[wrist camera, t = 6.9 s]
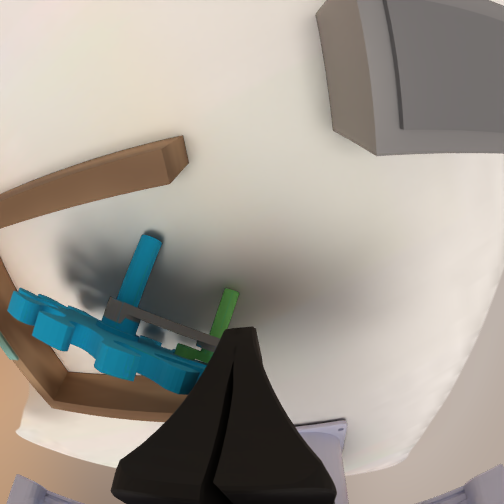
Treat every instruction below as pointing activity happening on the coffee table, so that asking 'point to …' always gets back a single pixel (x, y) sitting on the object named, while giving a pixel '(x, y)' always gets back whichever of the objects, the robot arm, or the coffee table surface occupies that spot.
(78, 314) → the blue green toy construction
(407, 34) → the block
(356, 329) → the coffee table surface
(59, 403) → the frame
